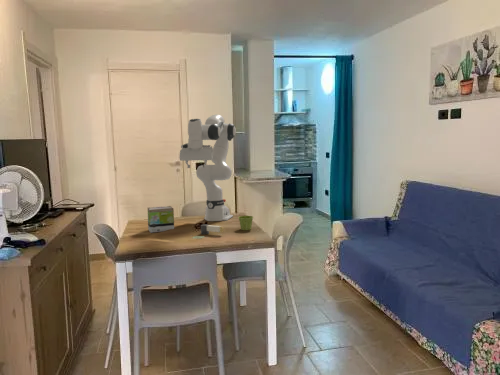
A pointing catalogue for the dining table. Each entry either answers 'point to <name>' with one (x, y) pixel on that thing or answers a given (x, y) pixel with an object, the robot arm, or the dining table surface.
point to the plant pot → (245, 222)
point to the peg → (210, 229)
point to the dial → (201, 237)
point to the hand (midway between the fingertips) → (196, 167)
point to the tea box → (160, 218)
